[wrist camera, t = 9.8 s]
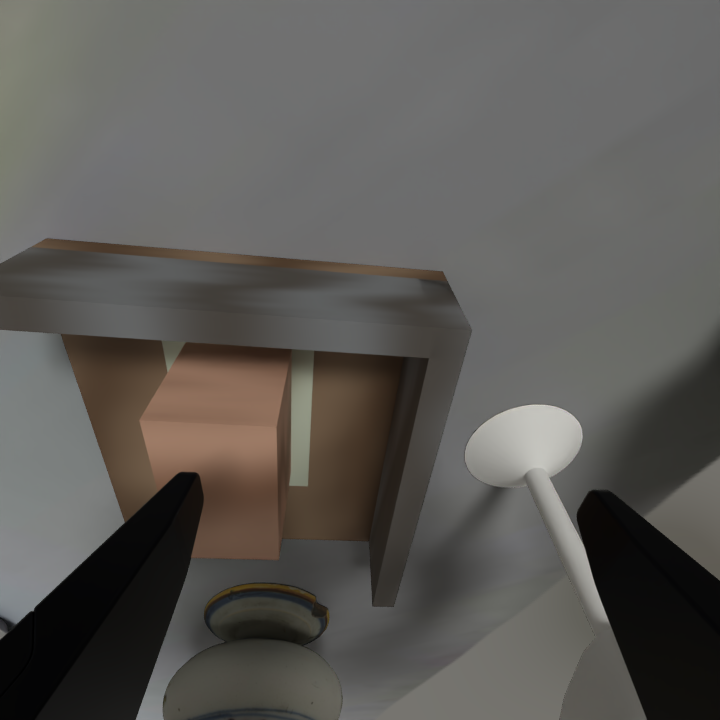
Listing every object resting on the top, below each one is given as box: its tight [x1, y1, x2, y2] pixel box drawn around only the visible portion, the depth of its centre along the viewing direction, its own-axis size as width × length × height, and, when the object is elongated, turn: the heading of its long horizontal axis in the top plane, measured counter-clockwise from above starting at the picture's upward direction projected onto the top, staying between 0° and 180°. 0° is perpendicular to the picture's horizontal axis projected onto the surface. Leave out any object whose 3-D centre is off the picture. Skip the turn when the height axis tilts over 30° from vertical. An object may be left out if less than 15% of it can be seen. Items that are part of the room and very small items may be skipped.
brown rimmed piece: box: [0, 239, 472, 607], centre depth 20 cm, size 16×18×5 cm
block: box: [139, 342, 292, 560], centre depth 18 cm, size 8×4×5 cm, turn 174°
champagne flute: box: [465, 405, 647, 720], centre depth 14 cm, size 7×7×24 cm
